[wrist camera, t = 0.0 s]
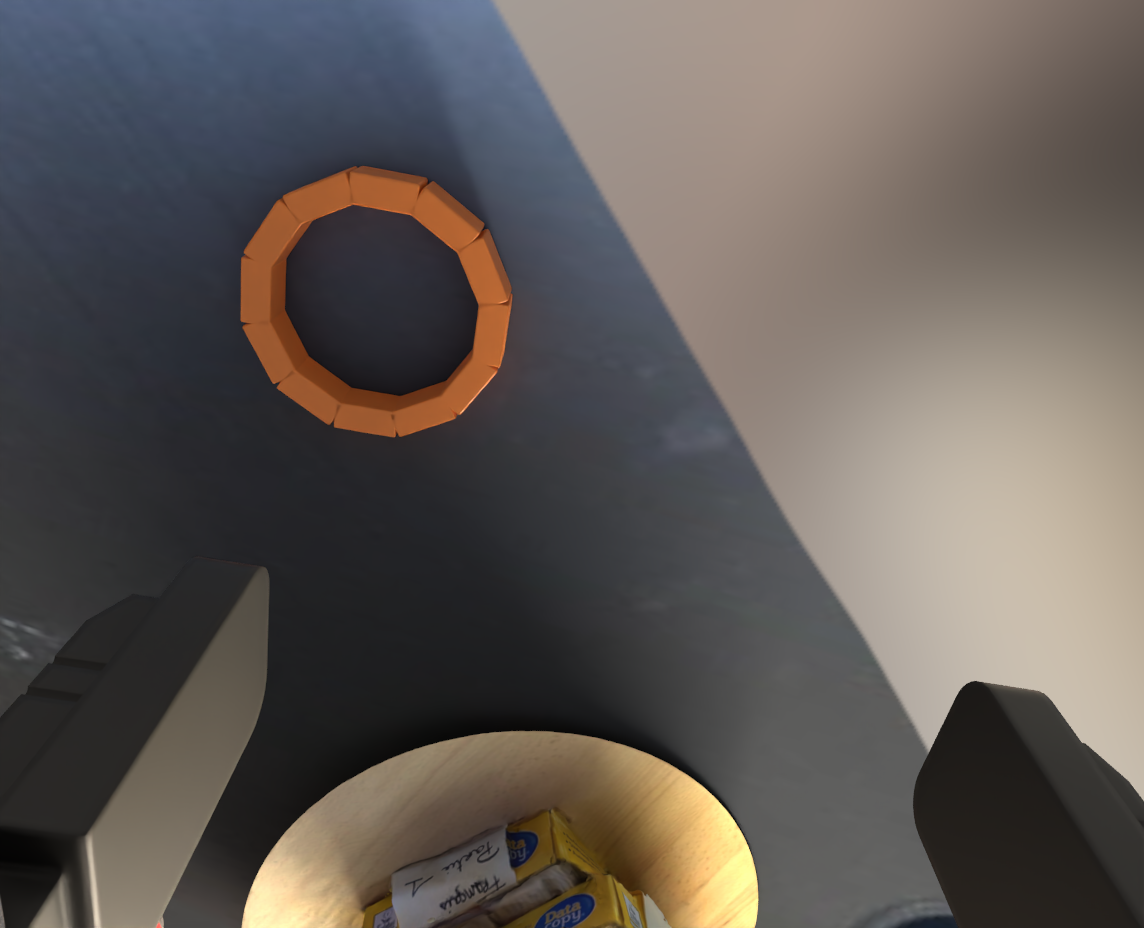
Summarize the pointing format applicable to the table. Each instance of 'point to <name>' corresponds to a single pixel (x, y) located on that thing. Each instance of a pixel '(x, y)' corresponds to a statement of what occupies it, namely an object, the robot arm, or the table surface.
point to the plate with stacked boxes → (511, 844)
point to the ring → (284, 346)
